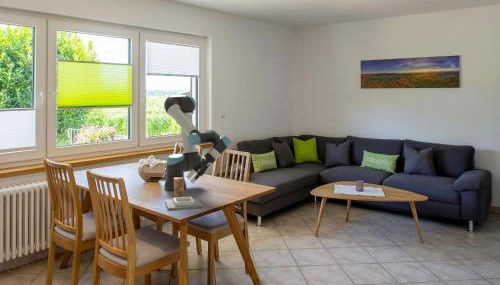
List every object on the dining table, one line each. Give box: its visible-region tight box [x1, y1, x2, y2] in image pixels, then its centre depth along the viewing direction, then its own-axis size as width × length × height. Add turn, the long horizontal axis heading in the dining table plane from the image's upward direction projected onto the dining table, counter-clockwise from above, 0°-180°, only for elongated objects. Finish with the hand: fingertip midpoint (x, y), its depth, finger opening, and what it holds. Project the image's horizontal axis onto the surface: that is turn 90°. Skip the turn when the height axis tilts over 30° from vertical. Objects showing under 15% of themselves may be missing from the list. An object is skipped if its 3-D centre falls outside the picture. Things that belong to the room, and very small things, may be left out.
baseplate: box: [164, 196, 204, 211], centre depth 239 cm, size 20×18×3 cm
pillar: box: [173, 177, 185, 198], centre depth 257 cm, size 6×6×12 cm
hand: (189, 180), depth 257 cm, fingers open, 13 cm apart
